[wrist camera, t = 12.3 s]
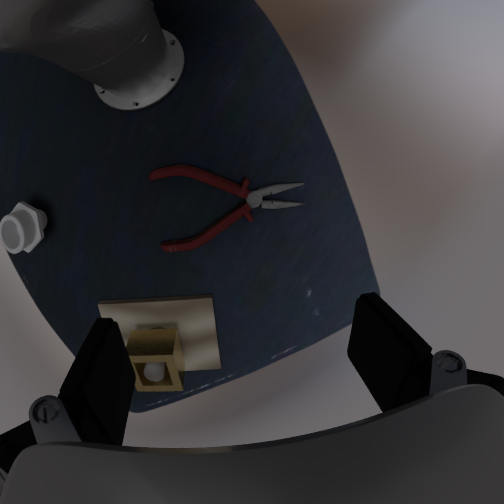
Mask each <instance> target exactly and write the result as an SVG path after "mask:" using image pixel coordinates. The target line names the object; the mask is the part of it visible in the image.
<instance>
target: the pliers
mask: <svg viewBox="0 0 504 504" xmlns="http://www.w3.org/2000/svg"><path fill="white" fill-rule="evenodd" d="M169 176H187V177H191V178H194V179H197V180H199V181H202V182H204V183H207V184H209V185H212V186H215V187H217V188H220V189H222V190H225V191H227V192H230V193H232V194H234V195H237V196H239V197H242V198H244V199H245V200H246V201H244V202H243V203H241V204H240V205H238V206H237V207H236V208H234V209H233V210H231V211H230V212H229V213H227V214H226V215H225V216H223V217H222V218H220V219H219V220H218V221H216V222H215V223H214V224H212V225H211V226H210V227H208V228H207V229H205V230H204V231H203V232H201V233H200V234H198V235H196V236H194V237H192V238H188V239H183V240H174V241H166V242H162V243H161V248H162V250H164V251H165V252H176V251H187V250H193V249H196V248H198V247H200V246H202V245H204V244H205V243H207V242H208V241H210V240H211V239H212V238H214V237H215V236H217V235H218V234H219V233H221V232H222V231H223V230H225V229H226V228H228V227H229V226H230V225H232V224H233V223H234V222H236V221H237V220H239V219H240V218H241V217H243V216H244V215H245V216H246V218H247V219H248V221H249V222H251V221H253V220H254V219H253V217H252V216H251V215H250V213H249V212H250V211H251V210H252V209H251V208H255V207H261V208H270V209H278V208H284V207H291V206H298V205H305V203H299V202H290V201H281V200H271V199H270V201H266V200H262V197H263V196H266V195H270V194H275V193H278V192H281V191H285V190H288V189H291V188H294V187H297V186H300V185H304V184H305V183H291V184H274V185H269V186H265V187H262V188H258V190H255V191H250V190H249V189H248V188H247V187H248V185H249V182H250V180H249V179H247V178H245V177H244V178H243V180H242V183H241V185H240V184H237V183H235V182H233V181H230V180H228V179H225V178H223V177H220V176H218V175H215V174H213V173H210V172H208V171H205V170H203V169H200V168H197V167H194V166H190V165H184V164H177V165H172V166H168V167H163V168H159V169H155V170H153V171H152V172H151V173H150V175H149V180H155V179H160V178H164V177H169Z"/></svg>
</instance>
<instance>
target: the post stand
mask: <svg viewBox="0 0 504 504" xmlns="http://www.w3.org/2000/svg"><path fill="white" fill-rule="evenodd" d="M98 307H99V310H100V314H101V317H102V318H112V319H113V320H114V321H116V322H117V323H118V325H119V328H120V331H121V334H122V337H123V340H124V343H125V346H126V345H127V342H128V339H129V337H130V334H131V331H132V330H151V329H171V328H177V331H178V336H179V340H180V344H181V349H182V353H183V357H184V361H185V371H190V370H207V369H220V368H221V362H220V355H219V348H218V340H217V332H216V324H215V316H214V308H213V299H212V294H205V295H192V296H178V297H163V298H147V299H128V300H105V301H100V302H99V303H98ZM165 364H166V362H146V365H145V369H144V376H145V377H146V378H147V379H149V380H151V381H155V382H157V381H161V380H162V379H163V377H164V371H165Z"/></svg>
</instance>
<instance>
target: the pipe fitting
mask: <svg viewBox="0 0 504 504" xmlns="http://www.w3.org/2000/svg"><path fill="white" fill-rule="evenodd" d="M46 224H47V217H46V214H45V213H44V212H43V211H42V210H38V209H36V208H34V207H32V206H31V205H29V204H27V203H25V202H20V203H18V204H17V205H16V207H15V208H14V209H13V211H12V212H11V213H10V214H8V215H6V216H5V217H4V218H3V219H2V220H1V222H0V239H1V241H2V244H3V246H4V247H5V249H6V250H7V251H9V252H10V253H13V254H16V253H18V252H20V251H21V250H24V251H26V252H30V251H32V250H33V249H34V248H35V247H36V245H37V244H38V243H39V242H40V241H41V240H42V239H43V238H44V232H43V229H44V228H45V227H46Z"/></svg>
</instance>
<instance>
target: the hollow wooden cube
mask: <svg viewBox="0 0 504 504" xmlns="http://www.w3.org/2000/svg"><path fill="white" fill-rule="evenodd" d="M126 349H127V352H128V355H129V357H130V360H131V363H132V365H133V368H134V371H135V374H136V382H135V387H136V389H137V391H183V389H184V373H185V361H184V357H183V353H182V349H181V344H180V340H179V336H178V331H177V328H171V329H151V330H132V331H131V334H130V337H129V339H128V342H127V345H126ZM146 362H166V364H165V371H164V377H163V379H162V380H161V381H157V382H155V381H151V380H149V379H147V378H146V377H145V376H144V369H145V365H146Z"/></svg>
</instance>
